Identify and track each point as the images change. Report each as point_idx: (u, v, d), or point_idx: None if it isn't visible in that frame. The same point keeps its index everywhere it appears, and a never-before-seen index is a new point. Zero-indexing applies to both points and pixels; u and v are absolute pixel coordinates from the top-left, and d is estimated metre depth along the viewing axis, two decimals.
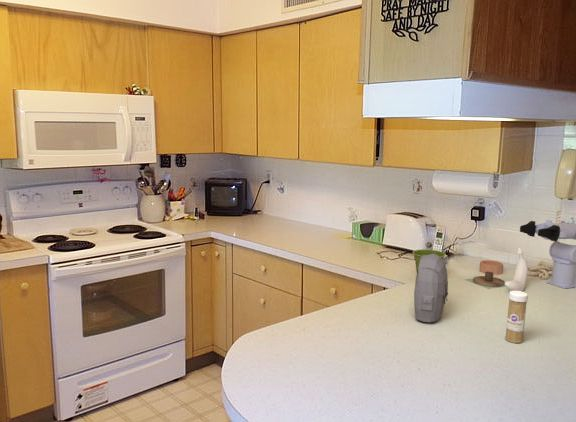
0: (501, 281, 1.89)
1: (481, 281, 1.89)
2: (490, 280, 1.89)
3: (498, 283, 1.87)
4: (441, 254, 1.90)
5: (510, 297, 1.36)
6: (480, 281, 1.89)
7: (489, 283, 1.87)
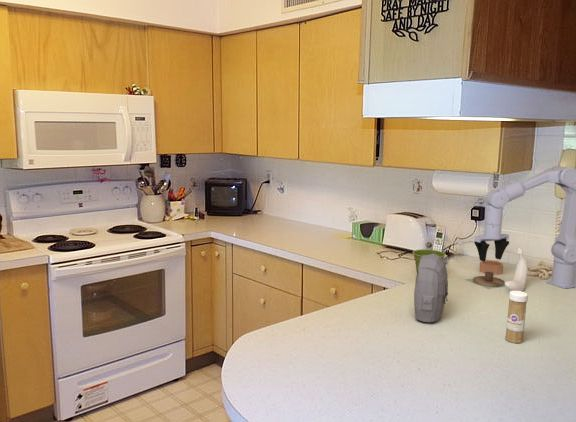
0: (501, 281, 1.89)
1: (481, 281, 1.89)
2: (490, 280, 1.89)
3: (498, 283, 1.87)
4: (441, 254, 1.90)
5: (510, 297, 1.36)
6: (480, 281, 1.89)
7: (489, 283, 1.87)
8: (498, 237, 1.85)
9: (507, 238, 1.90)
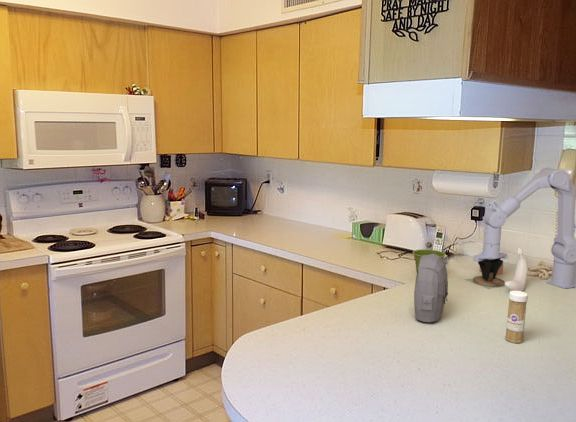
0: (501, 281, 1.89)
1: (481, 281, 1.89)
2: (490, 280, 1.89)
3: (498, 283, 1.87)
4: (441, 254, 1.90)
5: (510, 297, 1.36)
6: (480, 281, 1.89)
7: (489, 283, 1.87)
8: (496, 256, 1.86)
9: (505, 257, 1.91)
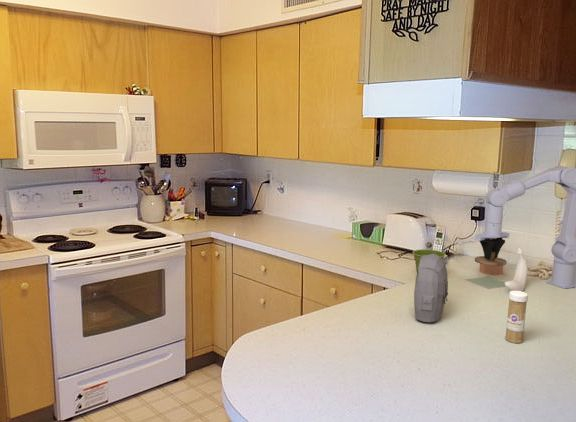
0: (503, 260, 1.89)
1: (483, 260, 1.89)
2: (492, 259, 1.89)
3: (500, 262, 1.87)
4: (441, 254, 1.90)
5: (510, 297, 1.36)
6: (482, 260, 1.89)
7: (491, 262, 1.86)
8: (498, 235, 1.86)
9: (507, 236, 1.91)
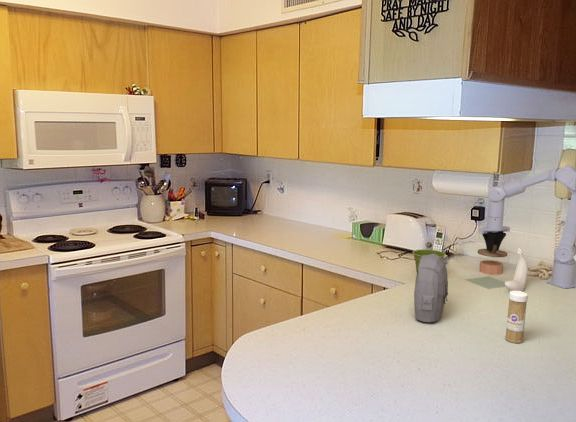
0: (504, 253, 2.03)
1: (485, 252, 2.03)
2: (494, 251, 2.03)
3: (501, 254, 2.00)
4: (441, 254, 1.90)
5: (510, 297, 1.36)
6: (484, 252, 2.02)
7: (492, 254, 2.00)
8: (500, 229, 2.00)
9: (508, 230, 2.04)
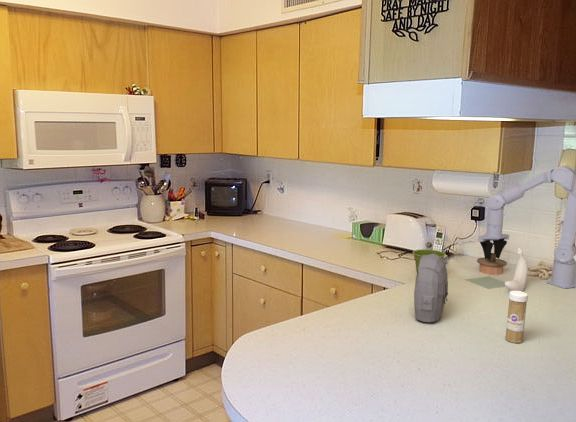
0: (503, 262, 2.03)
1: (484, 261, 2.03)
2: (493, 261, 2.03)
3: (500, 263, 2.01)
4: (441, 254, 1.90)
5: (510, 297, 1.36)
6: (483, 261, 2.03)
7: (492, 263, 2.01)
8: (499, 237, 2.00)
9: (507, 238, 2.05)
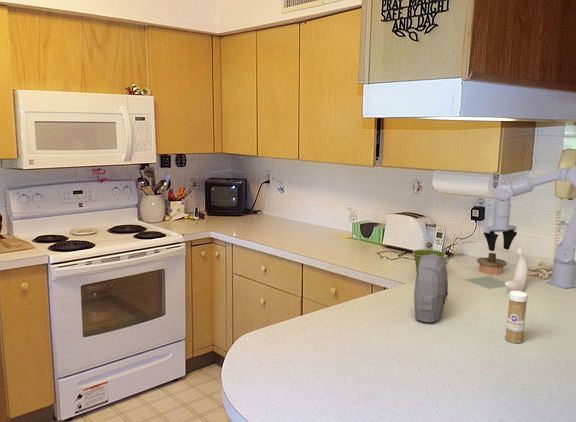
0: (503, 262, 2.03)
1: (484, 261, 2.03)
2: (493, 261, 2.03)
3: (500, 263, 2.01)
4: (441, 254, 1.90)
5: (510, 297, 1.36)
6: (483, 261, 2.03)
7: (492, 263, 2.01)
8: (506, 228, 1.96)
9: (515, 229, 2.00)
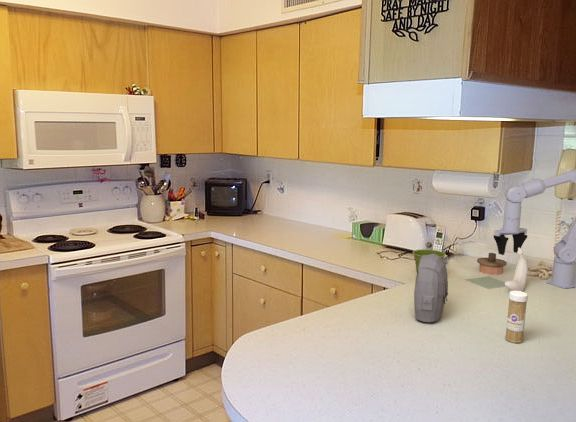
0: (503, 262, 2.03)
1: (484, 261, 2.03)
2: (493, 261, 2.03)
3: (500, 263, 2.01)
4: (441, 254, 1.90)
5: (510, 297, 1.36)
6: (483, 261, 2.03)
7: (492, 263, 2.01)
8: (517, 231, 1.90)
9: (525, 232, 1.94)
